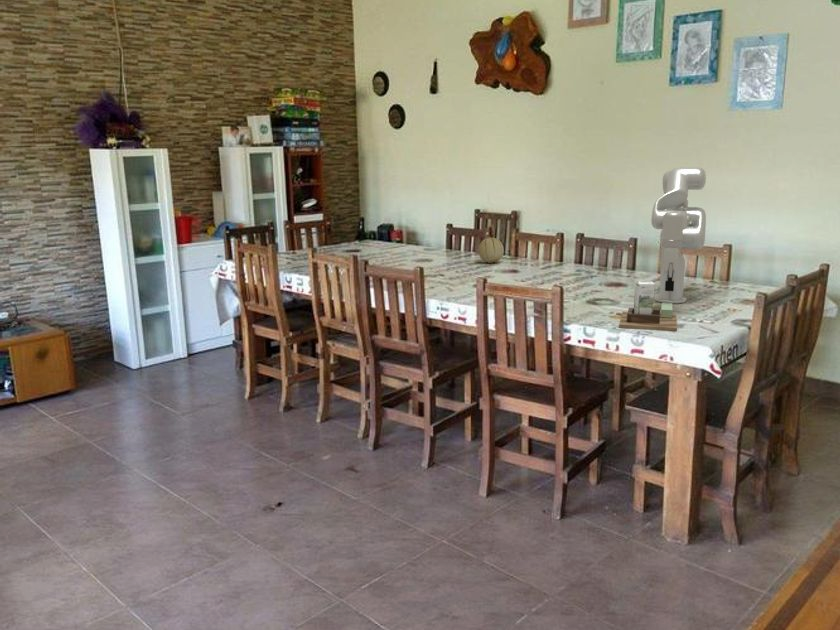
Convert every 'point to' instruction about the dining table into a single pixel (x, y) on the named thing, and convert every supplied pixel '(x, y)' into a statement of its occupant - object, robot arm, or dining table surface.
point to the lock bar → (666, 310)
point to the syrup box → (644, 297)
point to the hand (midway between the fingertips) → (669, 290)
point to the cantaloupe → (491, 250)
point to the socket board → (647, 321)
